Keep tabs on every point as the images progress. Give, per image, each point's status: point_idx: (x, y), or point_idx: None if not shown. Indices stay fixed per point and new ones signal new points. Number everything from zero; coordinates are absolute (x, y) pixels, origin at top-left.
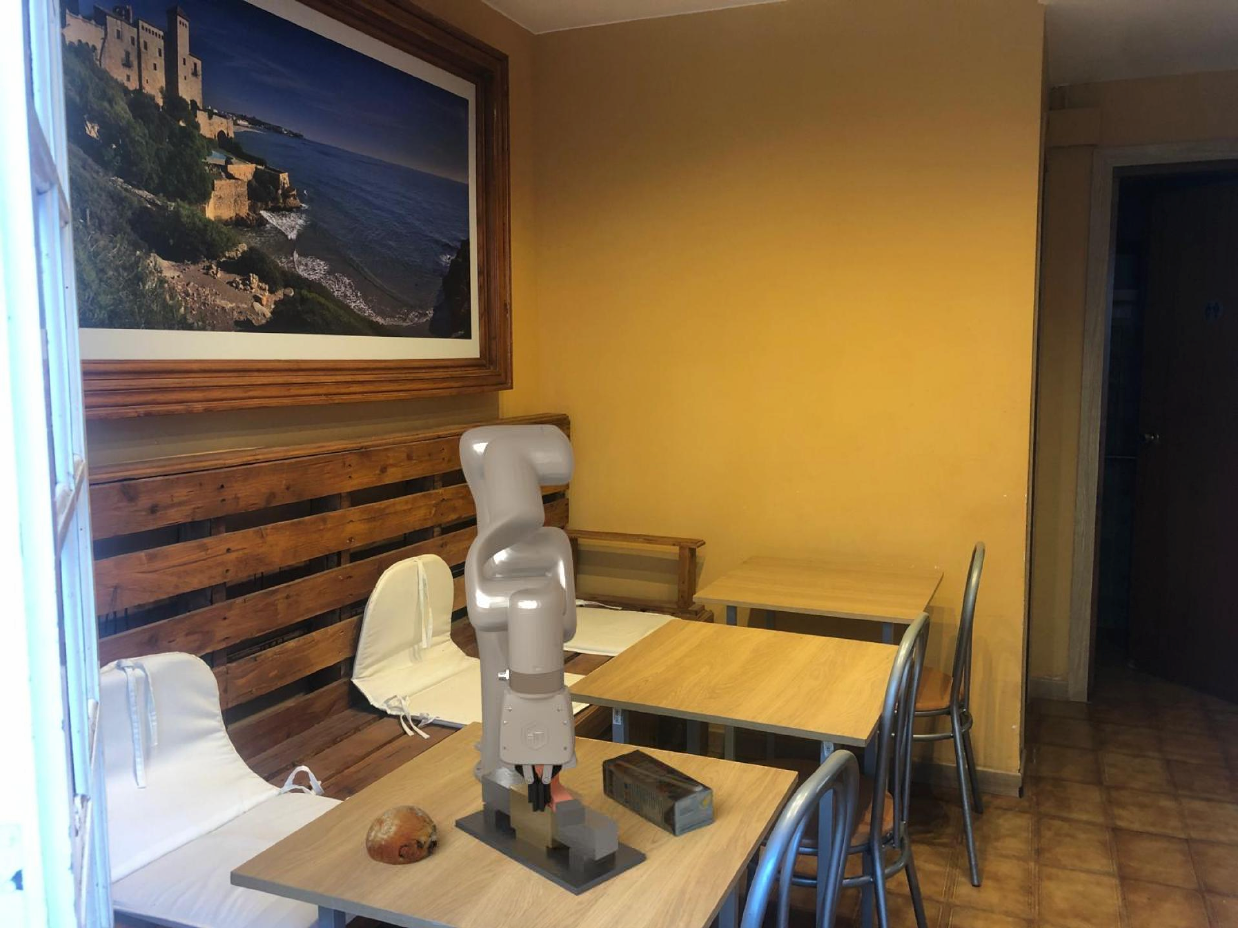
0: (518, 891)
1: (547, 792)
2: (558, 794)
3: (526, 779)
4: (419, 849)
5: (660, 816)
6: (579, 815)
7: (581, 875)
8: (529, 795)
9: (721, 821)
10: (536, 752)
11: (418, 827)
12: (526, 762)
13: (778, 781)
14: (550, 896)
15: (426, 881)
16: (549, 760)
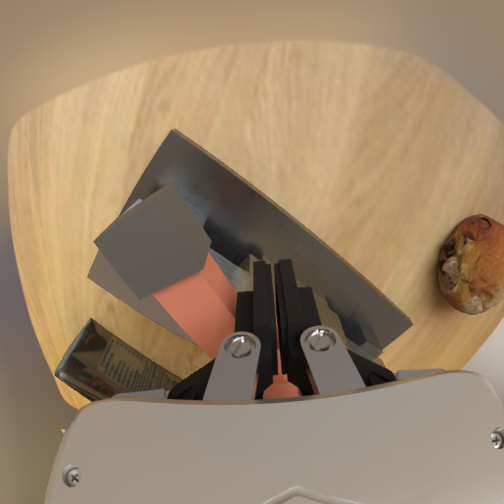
0: (293, 129)
1: (242, 312)
2: (217, 329)
3: (332, 340)
4: (466, 232)
5: (112, 349)
6: (116, 221)
7: (173, 179)
8: (309, 300)
9: (67, 345)
10: (289, 479)
11: (482, 260)
12: (358, 400)
13: (66, 396)
14: (225, 118)
15: (446, 165)
16: (189, 424)
